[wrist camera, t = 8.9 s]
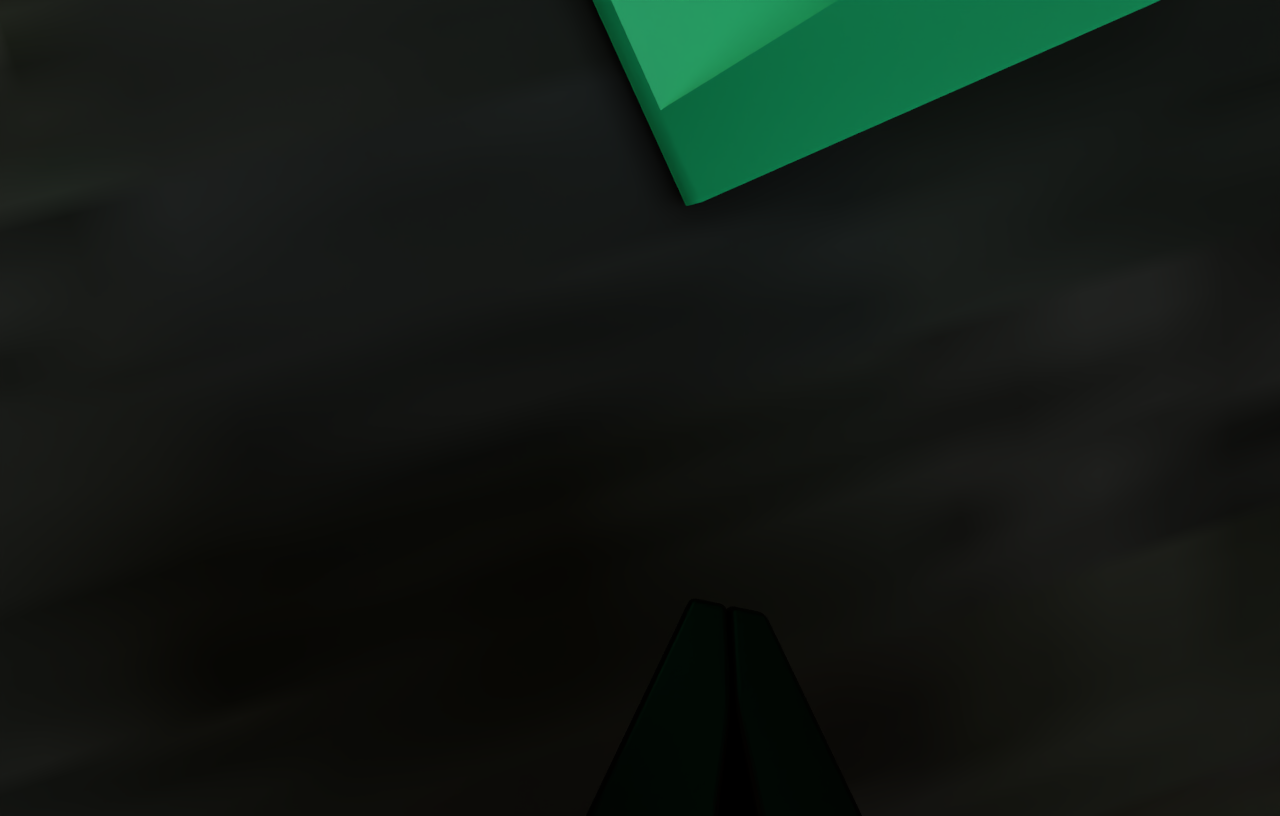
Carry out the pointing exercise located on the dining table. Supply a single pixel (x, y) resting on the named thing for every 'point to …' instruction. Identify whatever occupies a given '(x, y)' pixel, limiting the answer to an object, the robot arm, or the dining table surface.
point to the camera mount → (813, 69)
